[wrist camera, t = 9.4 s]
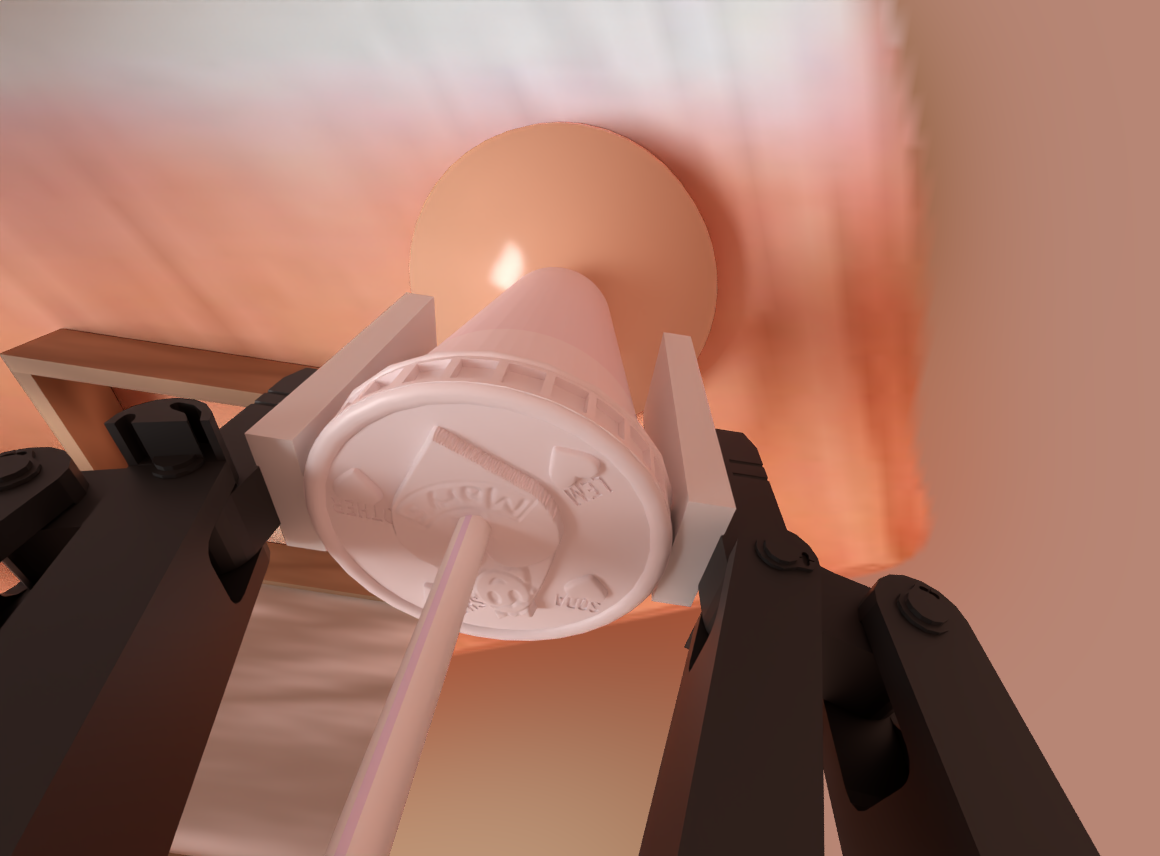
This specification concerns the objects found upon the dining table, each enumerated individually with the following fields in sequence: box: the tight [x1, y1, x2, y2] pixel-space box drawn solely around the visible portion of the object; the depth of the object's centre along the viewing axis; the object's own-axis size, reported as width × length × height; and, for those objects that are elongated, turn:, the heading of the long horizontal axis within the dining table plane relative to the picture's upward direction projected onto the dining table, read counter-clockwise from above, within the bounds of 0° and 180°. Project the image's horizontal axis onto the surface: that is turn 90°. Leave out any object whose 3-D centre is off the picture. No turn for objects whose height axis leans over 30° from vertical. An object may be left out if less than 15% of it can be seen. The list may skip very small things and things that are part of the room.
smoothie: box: [303, 267, 673, 856], centre depth 10 cm, size 6×6×14 cm
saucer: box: [409, 122, 718, 415], centre depth 17 cm, size 11×11×1 cm
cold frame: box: [0, 329, 419, 856], centre depth 19 cm, size 16×18×15 cm
